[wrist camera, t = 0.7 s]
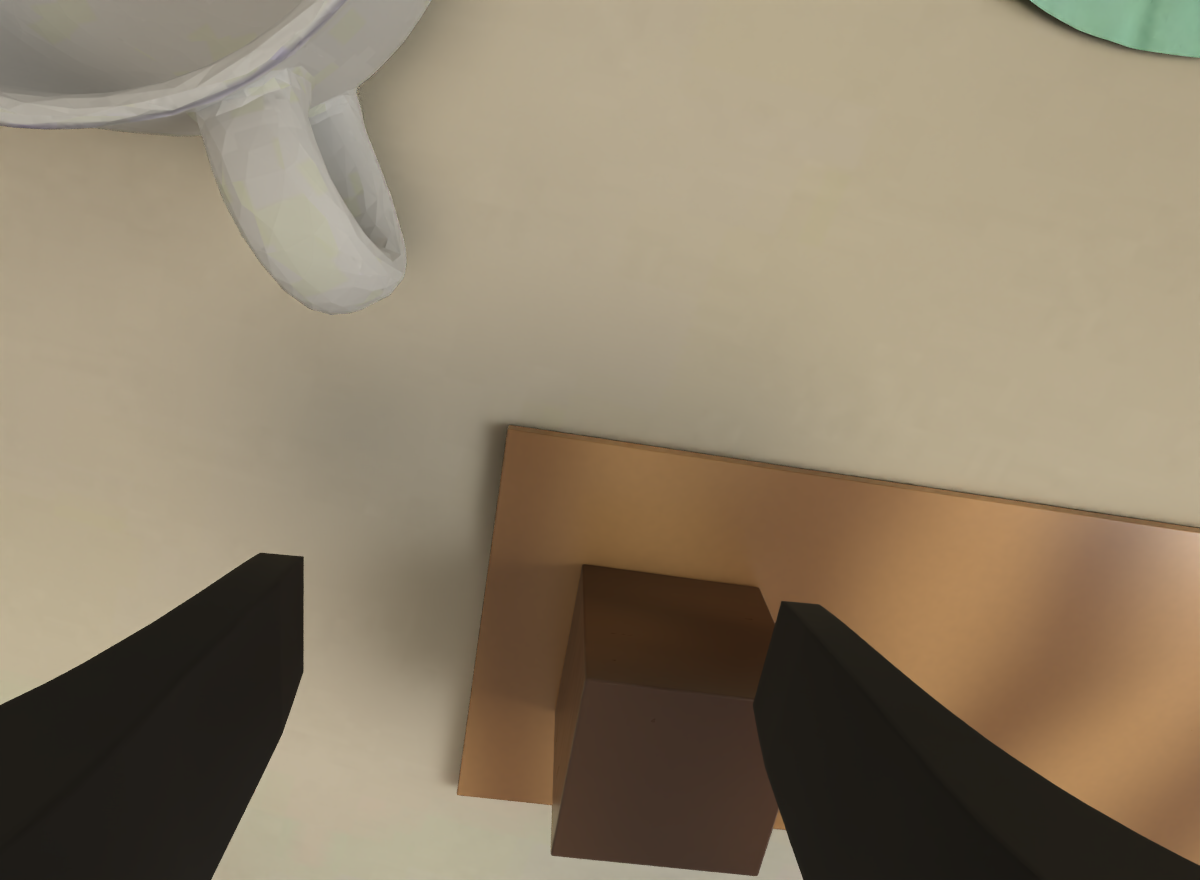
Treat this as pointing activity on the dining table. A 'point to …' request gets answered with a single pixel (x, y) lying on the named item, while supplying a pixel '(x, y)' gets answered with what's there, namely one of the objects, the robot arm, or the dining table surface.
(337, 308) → the teacup
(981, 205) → the dining table surface
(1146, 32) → the chocolate cake
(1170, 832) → the board
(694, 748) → the cube
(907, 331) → the dining table surface
